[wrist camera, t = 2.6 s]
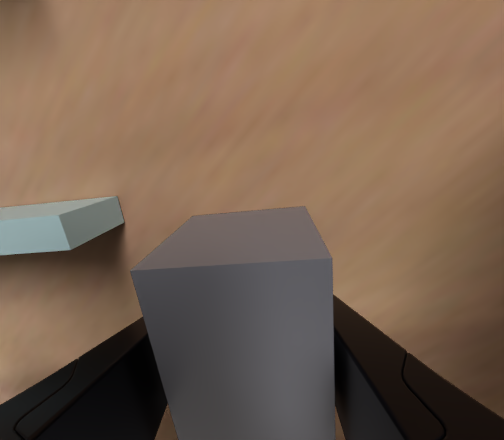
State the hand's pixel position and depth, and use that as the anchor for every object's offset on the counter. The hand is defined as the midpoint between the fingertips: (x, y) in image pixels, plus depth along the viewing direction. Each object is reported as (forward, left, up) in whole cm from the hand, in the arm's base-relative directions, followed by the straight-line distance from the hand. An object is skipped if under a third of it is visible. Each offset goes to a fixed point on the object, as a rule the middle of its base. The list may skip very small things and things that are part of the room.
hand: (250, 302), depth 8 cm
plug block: (0, 0, -1) cm, 1 cm away
